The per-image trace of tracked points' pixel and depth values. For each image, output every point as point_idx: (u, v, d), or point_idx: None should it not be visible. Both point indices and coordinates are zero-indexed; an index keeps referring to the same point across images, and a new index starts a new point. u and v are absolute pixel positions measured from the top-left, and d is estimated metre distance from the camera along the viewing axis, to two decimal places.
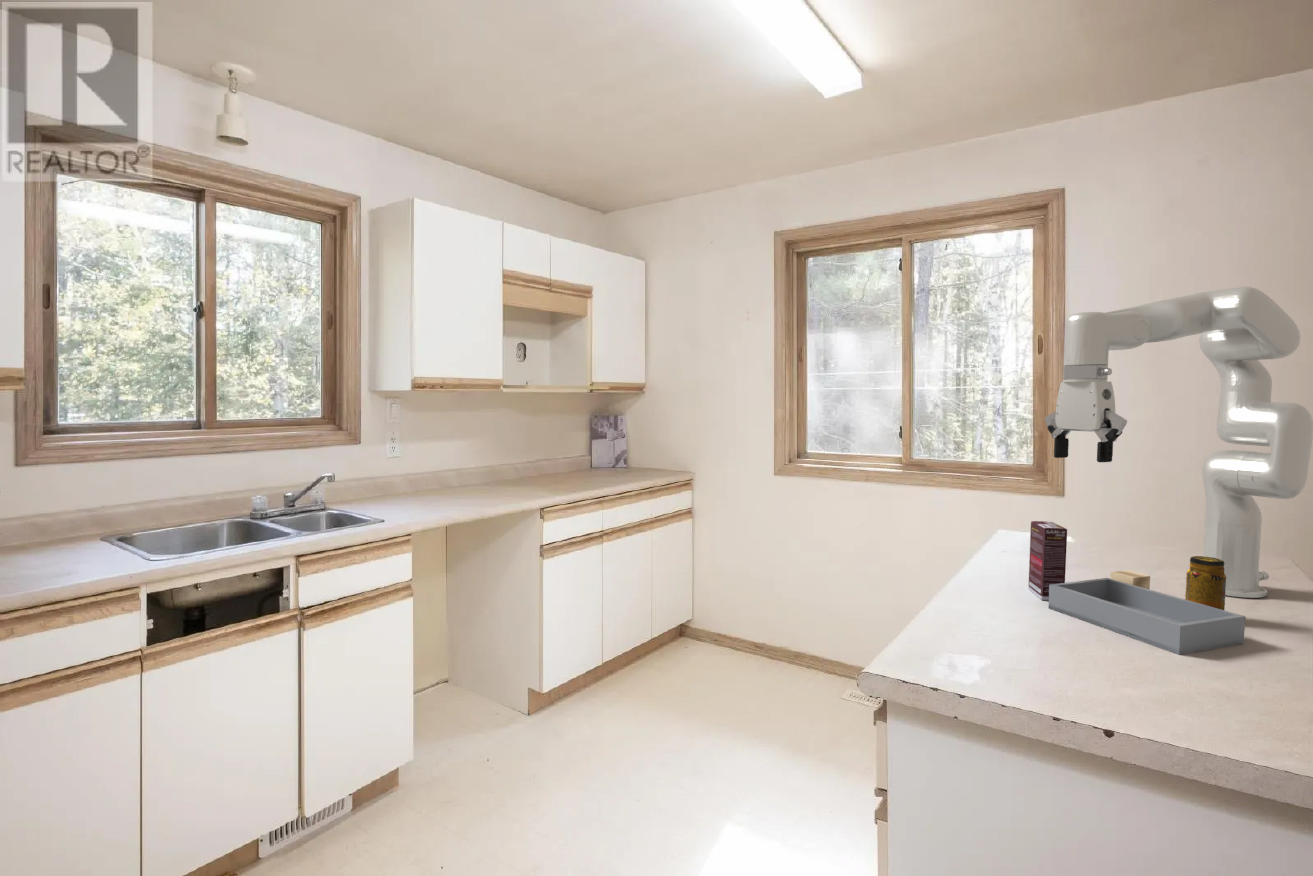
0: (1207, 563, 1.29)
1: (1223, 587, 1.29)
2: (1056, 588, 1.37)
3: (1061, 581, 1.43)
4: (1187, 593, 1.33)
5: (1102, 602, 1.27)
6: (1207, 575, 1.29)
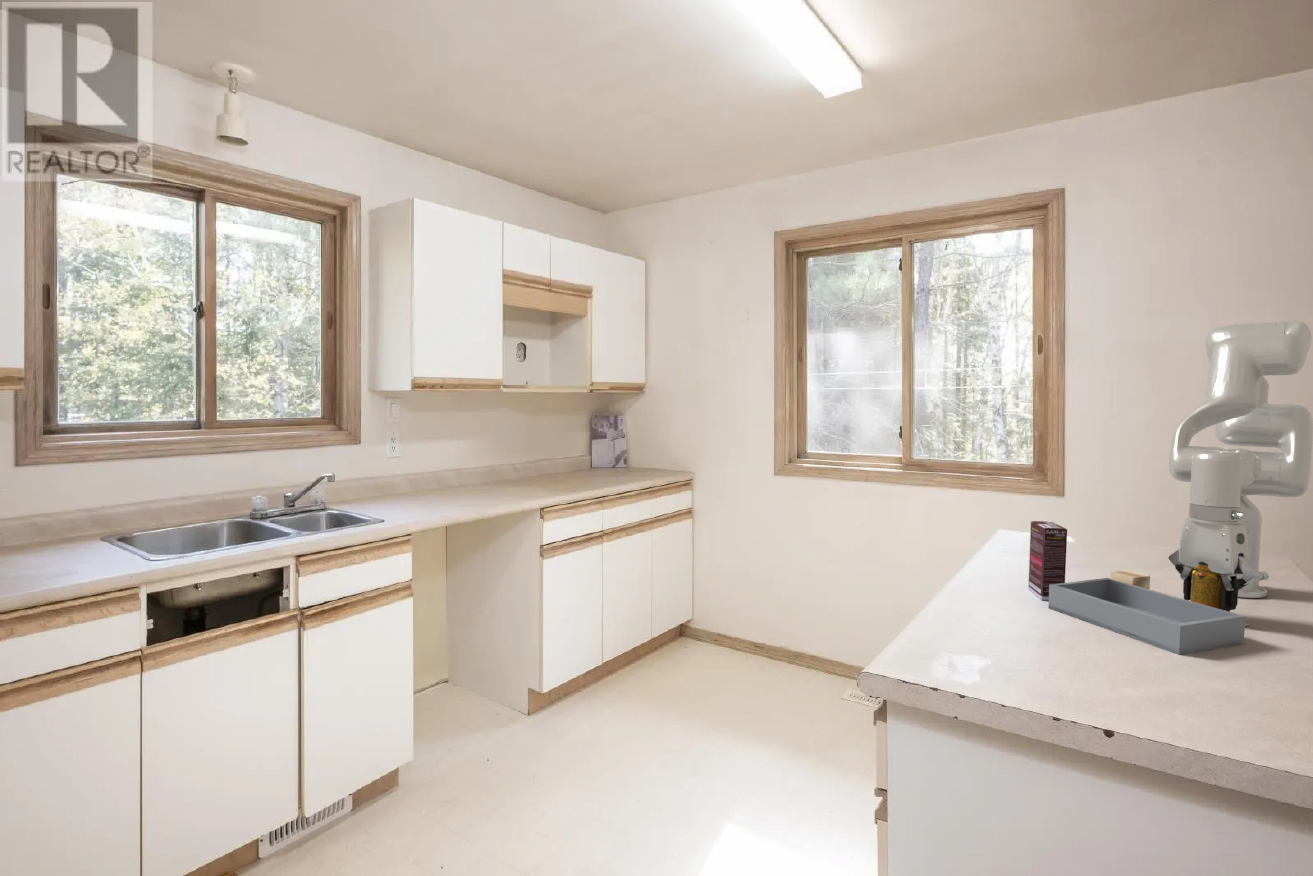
0: None
1: None
2: (1056, 588, 1.37)
3: (1061, 581, 1.43)
4: (1192, 594, 1.32)
5: (1102, 602, 1.27)
6: (1213, 576, 1.29)
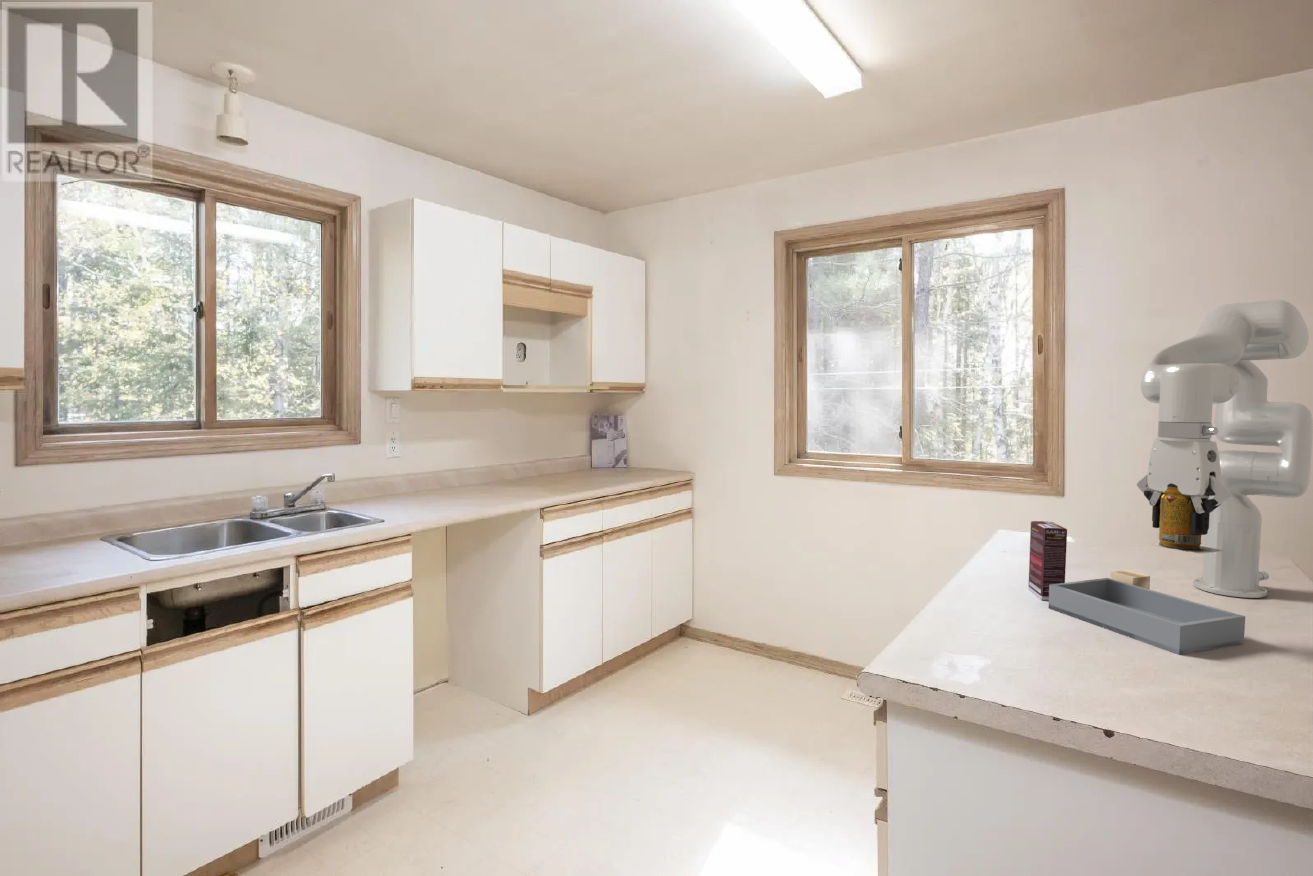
0: None
1: None
2: (1056, 588, 1.37)
3: (1061, 581, 1.43)
4: (1161, 520, 1.22)
5: (1102, 602, 1.27)
6: (1182, 498, 1.19)
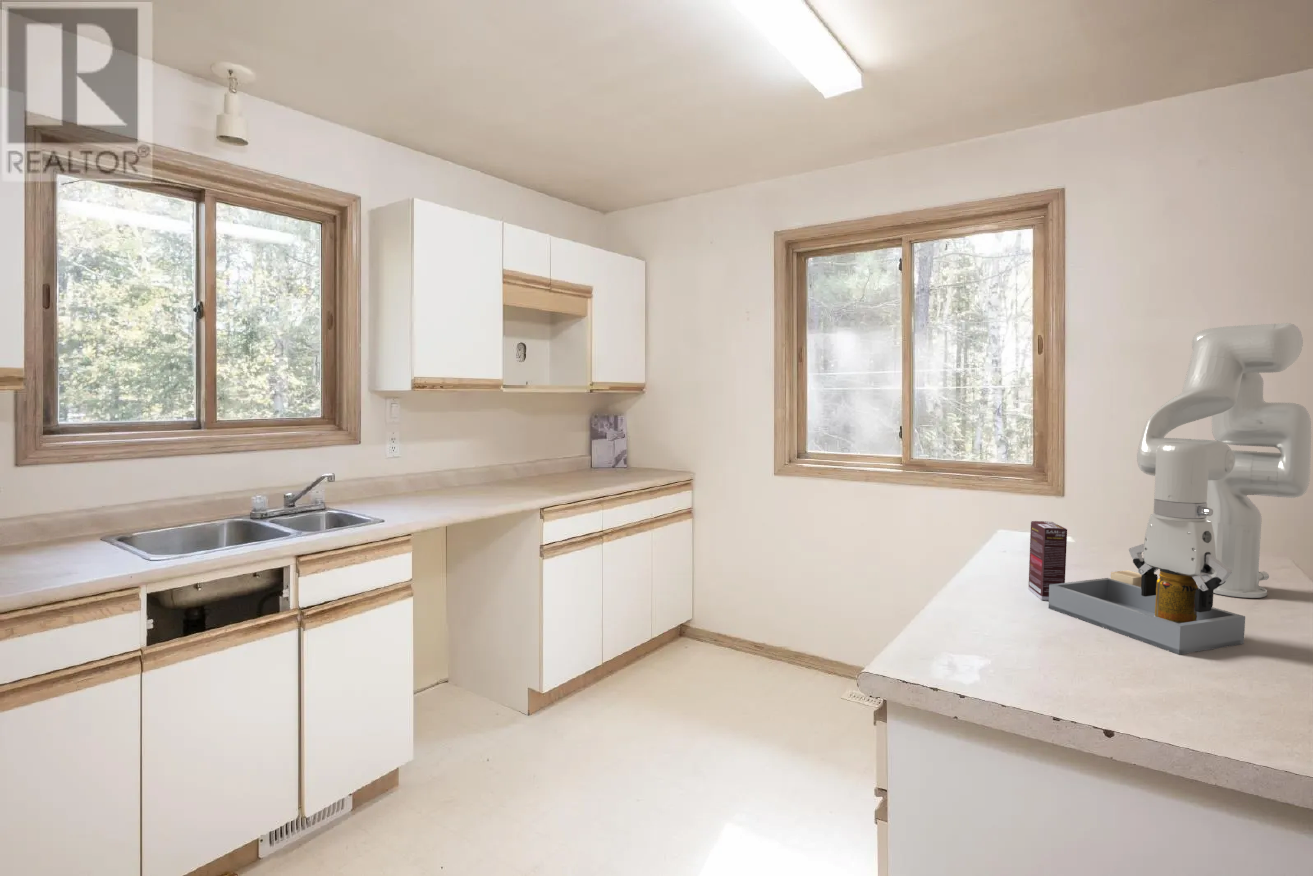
0: (1178, 573, 1.20)
1: None
2: (1056, 588, 1.37)
3: (1061, 581, 1.43)
4: (1157, 605, 1.23)
5: (1102, 602, 1.27)
6: (1178, 585, 1.20)
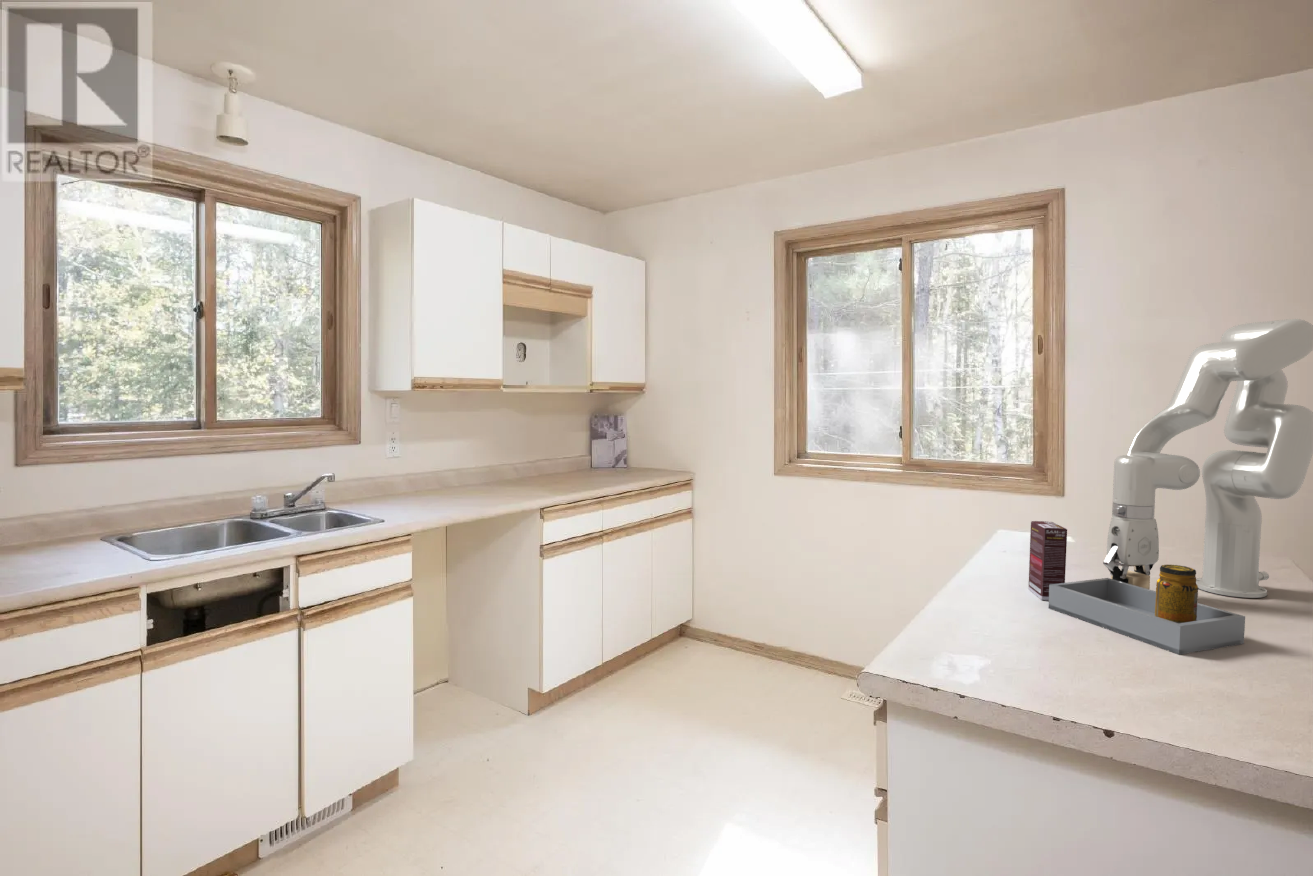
0: (1178, 573, 1.20)
1: (1195, 598, 1.19)
2: (1056, 588, 1.37)
3: (1061, 581, 1.43)
4: (1157, 605, 1.23)
5: (1102, 602, 1.27)
6: (1178, 585, 1.20)
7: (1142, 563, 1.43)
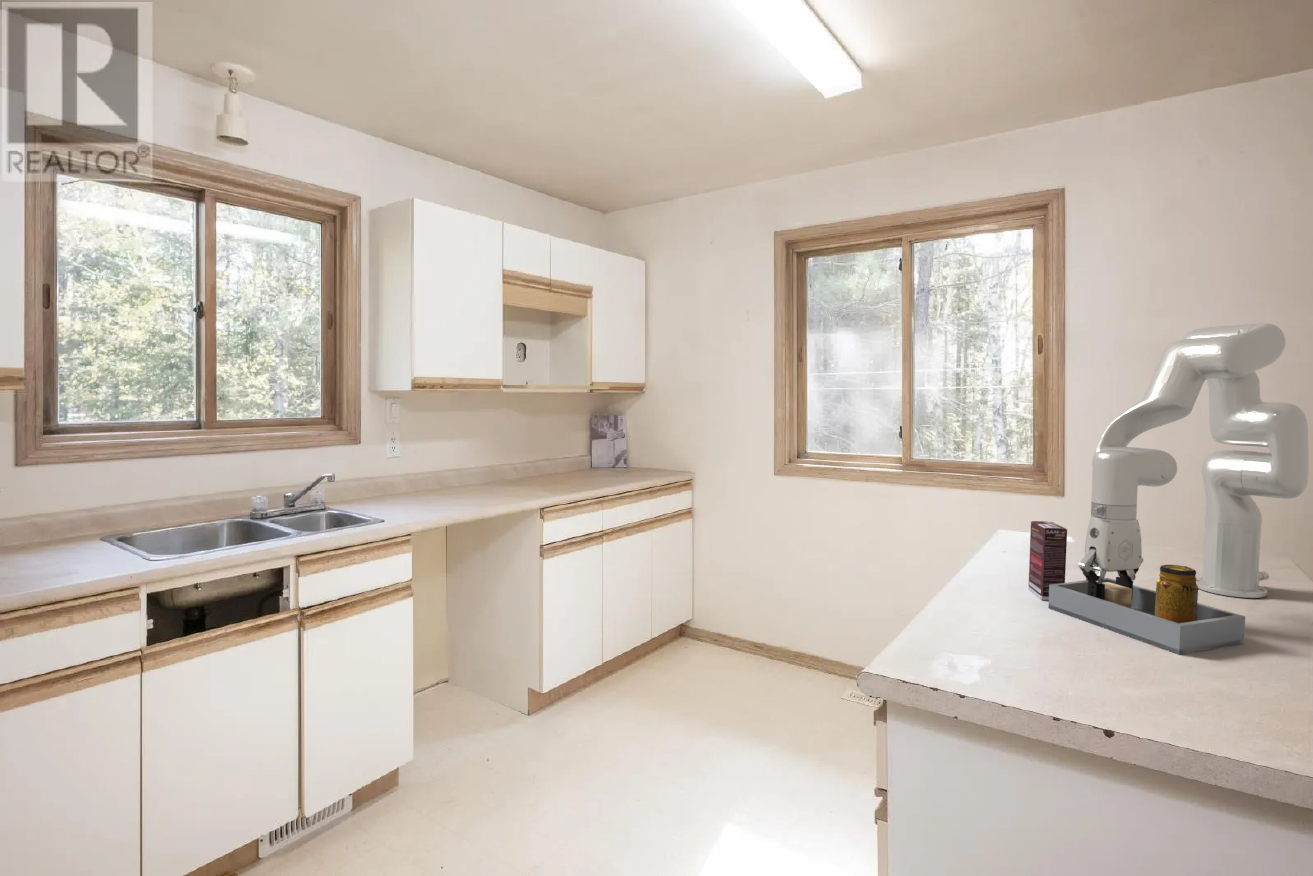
0: (1178, 573, 1.20)
1: (1195, 598, 1.19)
2: (1056, 588, 1.37)
3: (1061, 581, 1.43)
4: (1157, 605, 1.23)
5: (1102, 602, 1.27)
6: (1178, 585, 1.20)
7: (1123, 568, 1.31)
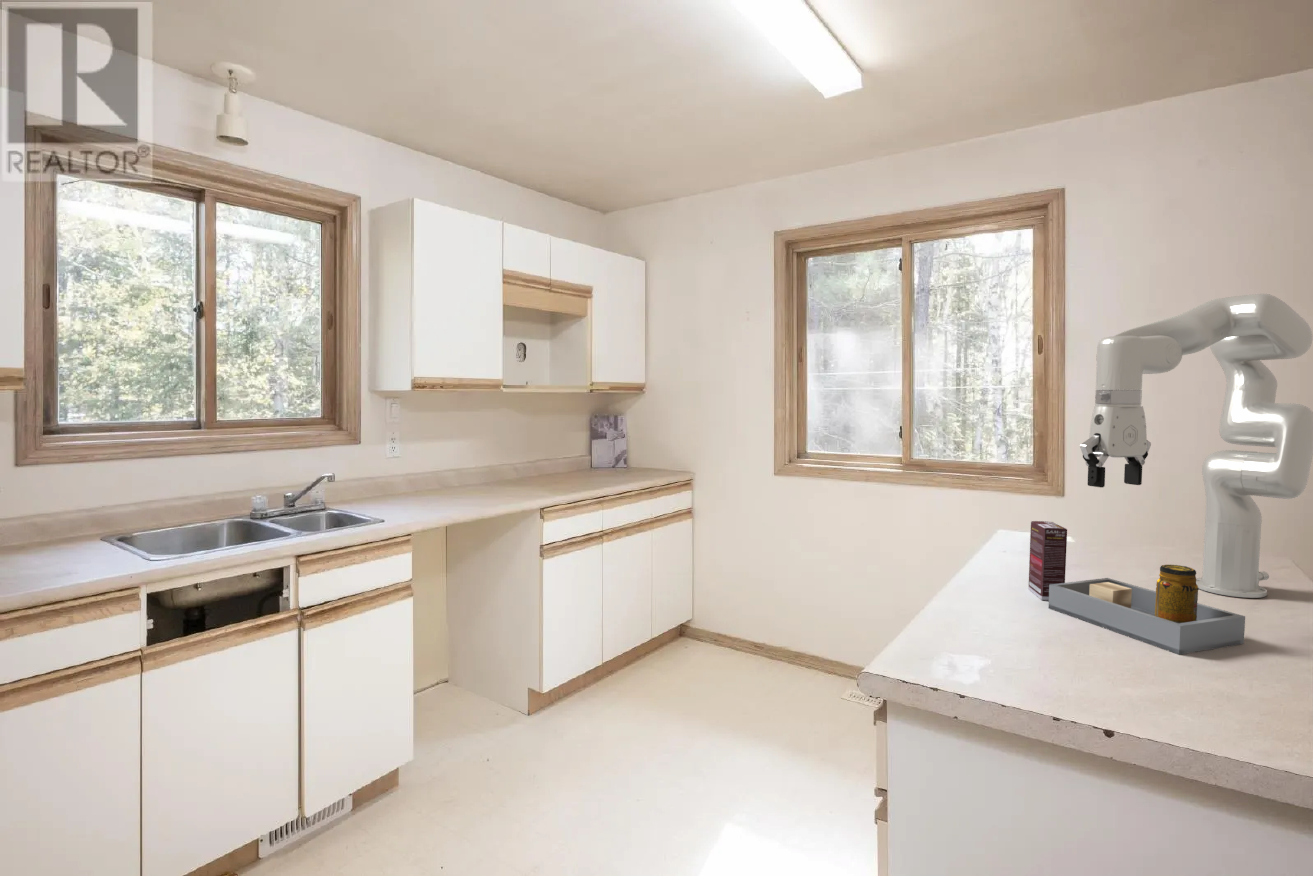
0: (1178, 573, 1.20)
1: (1195, 598, 1.19)
2: (1056, 588, 1.37)
3: (1061, 581, 1.43)
4: (1157, 605, 1.23)
5: (1102, 602, 1.27)
6: (1178, 585, 1.20)
7: (1128, 454, 1.29)
